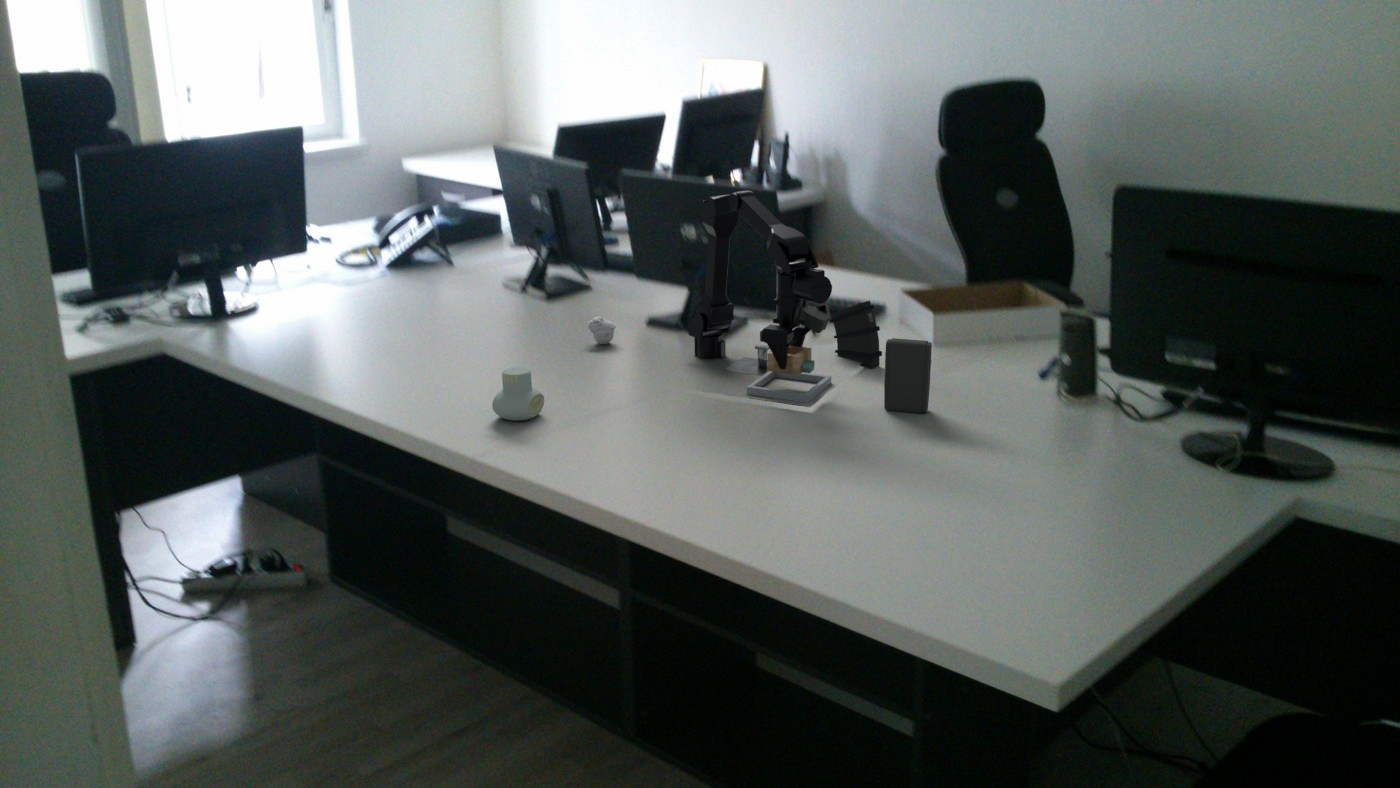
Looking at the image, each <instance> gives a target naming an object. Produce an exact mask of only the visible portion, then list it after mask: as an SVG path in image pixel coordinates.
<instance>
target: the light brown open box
mask: <svg viewBox="0 0 1400 788" xmlns="http://www.w3.org/2000/svg"><path fill="white" fill-rule="evenodd" d="M767 360H768V371H771V372H778V373H785V374H793V375H800V374H801V373H802V372H803V373H811V374H812V372H813V371H814V370H815V360H813V359H812V347H805V346H802V347H799V346H791V345H790V346H789V348H788V355H787V363H786V368H785V369H780V368H779V366H778V363H777V361H776V359H775V357H774V355H773V353H772V351H771V350H770V351H768V352H767Z"/></svg>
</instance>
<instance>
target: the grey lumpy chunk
mask: <svg viewBox="0 0 1400 788" xmlns="http://www.w3.org/2000/svg"><path fill="white" fill-rule="evenodd" d="M587 326H588V327H587V328H588V329H589V331H590V332H591V333H592V335H593V339H594V341H595V342H596V343H598V344H599V345H607V344H609V343H610V342H611V341H613V338H614V335H615V334H614V333H615V329H616V328H617V326H616V324H615V323H614V322H612V321H610V320H608V319H605V318H604V317H603V316H595V317H593V318H592V319H591V320H588V322H587Z"/></svg>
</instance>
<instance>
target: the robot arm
mask: <svg viewBox="0 0 1400 788" xmlns="http://www.w3.org/2000/svg"><path fill="white" fill-rule="evenodd" d="M700 210H701V223H702V225H703V227H704V228H705V230H706V231H707V235H708V236H707V252H706V253H707V254H706V266H705V267H706V268H705V281H704V293H703V295H702V296H701V298H700V299H699V301H698V302H697V304H696V308H695V309H696V310H695V315H694V317H693V318H692V319H691V321H690V322H689V324H688V325H687V327H686V328H687V331H688V335H689V336H690V337H693V338H694V339H693V340H694V341H693V343H694V356H695V357H697V358H699V359H702V360H703V359H704V360H713V359H714V360H722V359H723V358H725V357H726V356H727V354H726V353H727V352H726V350H727V349H726V345H727V344H726V342H727V341H726V340H724V338H725V336H724V335H725V334H729V333H730V331H731V326H732V322H733V321H734V320H735V318H734V311H735V304H733V303H732V302H730V299H729V298H728V296H727V286H728V270H729V258H730V244H731V243H730V241H731V235H732V233H733V232H734V230H735V229H736V227H737V226H738V224H739V220H740V217H742V218H743V219H744V220H745V221H746V223H748V225H750V227H752V228H753V229H754V230H755V232H757V233H758V234H759V235H760V237H761V238H763V239H764V241H765V242H766V249H767V251H768V253H769V254H770V256H771V257H772V259H773V260H774V262H775V263H773V264H772V265H771V266H770V270H771V271H773V272H776V298H773V300H772V305H776V316H775V317H773V318H772V323H773V324H768V325H767V326H766V327H764V328H763V329H762V330H761V331H760V332H759V342H762V343H765V344H766V345H767V346H769V348H770V349H769V350H770V351H772V353H773V355H774V357H775V359H776V361H777V363H778V366H779V368H780V369H785V368H786V363H787V355H788V348H789V346H790V345H791V346H799V347H804V346H803V345H804V342H805V339H806V336H807V334H809V333H810V332H811V331H812V332H814V333H816V334H821V332H823V331H824V330H826V328H827V326H828V324H829V322H830V320H831V319H832V318H831V314H832V313H830V305H828V304H827V303H825V302H827V301H828V300H829V299H830V297H831V295H832V291H833V285H832V282H831V280H830V279H829V277H828V276H825V275H826V274H825V270H823V269H822V268H821V269H818V268H819V264H818V263H819V262H818V261H817V260H818V259H817V257H816V256H815V253H814V251H813V249H812V246H811V244H810V241H809V240H808V237H807V236H806V235H805V234H803V233H802V232H801V231H799V230H798V229H796V228H793V227H791V226H787V225H785V224H783V222H781V221H780V220H779V219H778V218H777V217H776V216H775V215H774V214H773V213H772V212H771V211H770V210H769V209H768V208H767V207H766V206H765V205H764V204H763V203H762V202H761V201H759V199H758V198H757V197H756V194H755V193H754V191H751V190H741V191H734V192H733V193H730V194H722V195H714V196H708V197H706V198H705V199H704V200H702V204H701V209H700ZM809 302H812V303H816V304H817V305H818V304H820V305H819V306H815V305H814V306H812V305H809Z"/></svg>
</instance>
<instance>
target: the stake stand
mask: <svg viewBox="0 0 1400 788" xmlns="http://www.w3.org/2000/svg"><path fill="white" fill-rule="evenodd" d="M754 349H755V350H757V358H754V357H748V356H747V357H746V356H742V357H741V358H739V360H737V361H736V362H733V363H732V364H731V365H729V366H728V367H726V368H725V369H723V371H724V372H725V371H726V372H730V373H731V372H733V373H740V374H747V375H753V376H754V375H755V376H760V377H761V376H763V375H764V374H765V373H767V372H768V351H769V350H770V348H769V346H768V344H766V345H765V344H756V345H754Z"/></svg>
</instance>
